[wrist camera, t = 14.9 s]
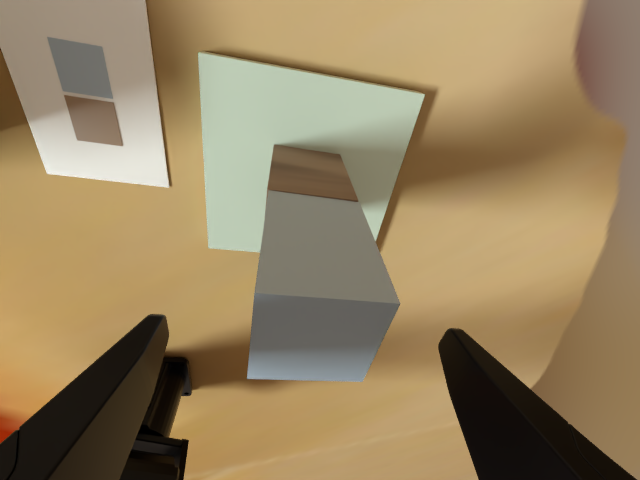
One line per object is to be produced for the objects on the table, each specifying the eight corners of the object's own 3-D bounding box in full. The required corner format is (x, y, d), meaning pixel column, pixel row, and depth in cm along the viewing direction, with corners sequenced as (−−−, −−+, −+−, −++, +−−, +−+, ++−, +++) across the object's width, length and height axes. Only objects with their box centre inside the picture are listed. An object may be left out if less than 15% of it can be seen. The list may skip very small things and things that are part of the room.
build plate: (366, 253, 24) (368, 261, 23) (211, 240, 22) (208, 248, 21) (418, 91, 17) (425, 94, 16) (202, 51, 15) (197, 52, 14)
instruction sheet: (169, 186, 19) (168, 187, 19) (48, 173, 18) (46, 174, 18) (144, -10, 14) (142, -10, 14) (-33, -48, 13) (-36, -48, 12)
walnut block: (327, 211, 20) (339, 268, 15) (268, 204, 20) (261, 262, 15) (340, 154, 18) (358, 200, 13) (273, 144, 17) (267, 189, 12)
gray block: (339, 270, 15) (362, 381, 10) (261, 263, 15) (246, 379, 10) (359, 202, 13) (400, 303, 8) (268, 190, 12) (254, 292, 8)
